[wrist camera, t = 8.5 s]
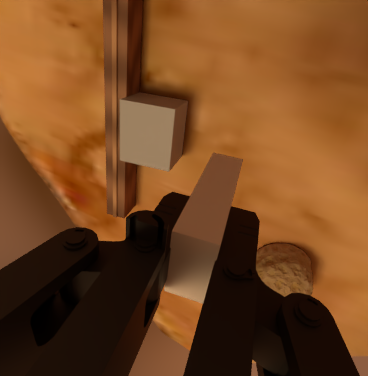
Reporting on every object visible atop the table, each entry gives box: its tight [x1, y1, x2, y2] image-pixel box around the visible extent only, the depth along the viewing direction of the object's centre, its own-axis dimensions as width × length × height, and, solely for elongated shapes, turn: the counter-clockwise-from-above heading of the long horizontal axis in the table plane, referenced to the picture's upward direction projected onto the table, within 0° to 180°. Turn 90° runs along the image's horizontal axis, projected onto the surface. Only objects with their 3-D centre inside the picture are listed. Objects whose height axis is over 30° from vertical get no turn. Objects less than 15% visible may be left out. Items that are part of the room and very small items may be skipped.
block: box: [120, 92, 188, 171], centre depth 37 cm, size 8×7×6 cm
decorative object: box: [256, 243, 313, 297], centre depth 42 cm, size 9×10×10 cm
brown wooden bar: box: [103, 0, 143, 218], centre depth 38 cm, size 30×3×4 cm, turn 173°
